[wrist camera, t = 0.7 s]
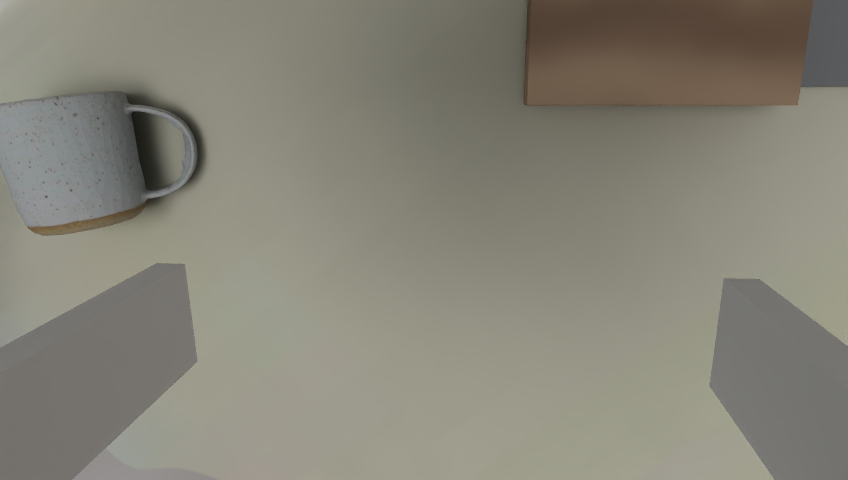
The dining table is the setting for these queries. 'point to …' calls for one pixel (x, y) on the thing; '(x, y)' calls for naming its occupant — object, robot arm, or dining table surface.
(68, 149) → the ceramic mug
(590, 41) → the board
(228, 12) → the dining table surface
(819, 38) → the mat
